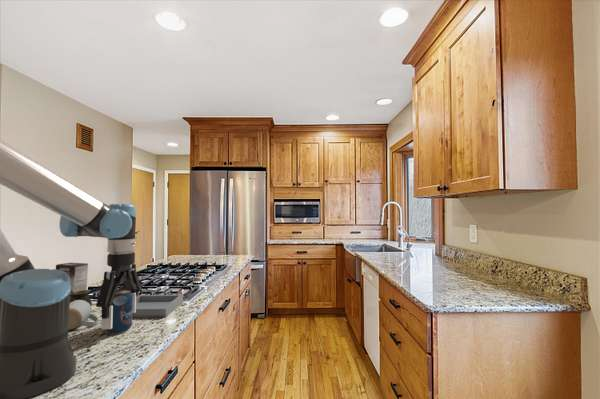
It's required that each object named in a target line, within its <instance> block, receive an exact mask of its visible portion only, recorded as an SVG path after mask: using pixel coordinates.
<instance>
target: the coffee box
mask: <svg viewBox="0 0 600 399" xmlns="http://www.w3.org/2000/svg"><path fill="white" fill-rule="evenodd" d="M88 268H89V263H88V262H87V263H85V262H66V263H58V264H55V269H56V270H61V271H64V272H66V273H67V274H68V275H69V277H70V284H71V291H73V292H75V291H80V290H88V288H87V287H88V271H89V269H88ZM71 293H72V292H70V294H71ZM70 298H71V297H70Z"/></svg>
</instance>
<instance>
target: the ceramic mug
mask: <svg viewBox="0 0 600 399" xmlns="http://www.w3.org/2000/svg"><path fill="white" fill-rule="evenodd" d="M92 311H93V310H92V305H91V306H90V304H89V303H88V302H86V301H84V300H75V301H73V302H71V303H70V304H69V324H68V331H72V330H75V329H78V327H80V326H83V327H88V328H89V327H90V328H91V327H95V326H96V325H97V324H98V322H99V321H100V320H99V317H98V316H96V315H95V314H93V313H92ZM89 319H90V320H92V321H88V320H89Z"/></svg>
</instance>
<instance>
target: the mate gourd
mask: <svg viewBox="0 0 600 399" xmlns="http://www.w3.org/2000/svg"><path fill="white" fill-rule="evenodd" d="M70 292H72V293H71V294H70V297H71V298H70V303H71V302H73V301H75V300H84V301H86V302H88V303H89V304H90V306H91V307H92V304H93V303H92V299H91V298H90V290H88V289H87V290H80V291H75V292H73V291H70Z"/></svg>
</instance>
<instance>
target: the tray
mask: <svg viewBox="0 0 600 399" xmlns="http://www.w3.org/2000/svg"><path fill="white" fill-rule="evenodd" d="M183 302H184V294H143V295H140V294H137V295H136V312H135V313H132V319H135V318H136V319H139V318H141V319H142V318H144V319H145V318H148V319H151V318H153V319H155V318H167V317H168V316H169V315H171V313H173V311H175V310H176V309H177V308H178V307H179V306H180V305H181V304H183Z"/></svg>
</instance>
